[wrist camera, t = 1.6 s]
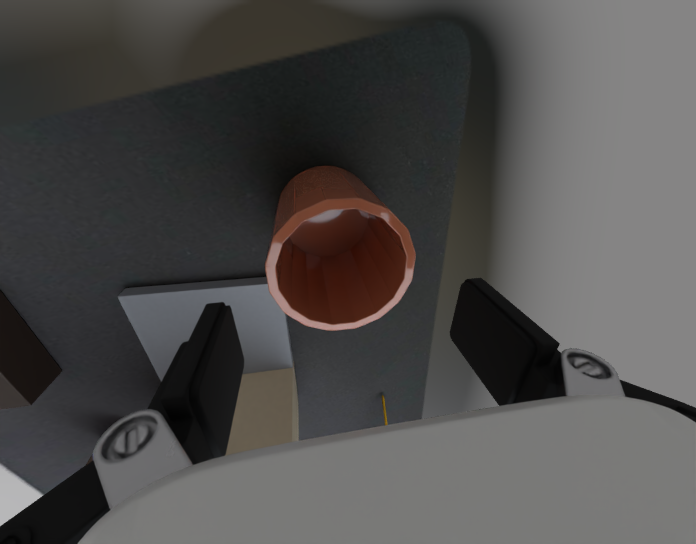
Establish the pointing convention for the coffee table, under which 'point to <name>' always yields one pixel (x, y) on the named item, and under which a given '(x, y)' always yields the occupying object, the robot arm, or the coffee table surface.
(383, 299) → the cup
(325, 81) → the coffee table surface
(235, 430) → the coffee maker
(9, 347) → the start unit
